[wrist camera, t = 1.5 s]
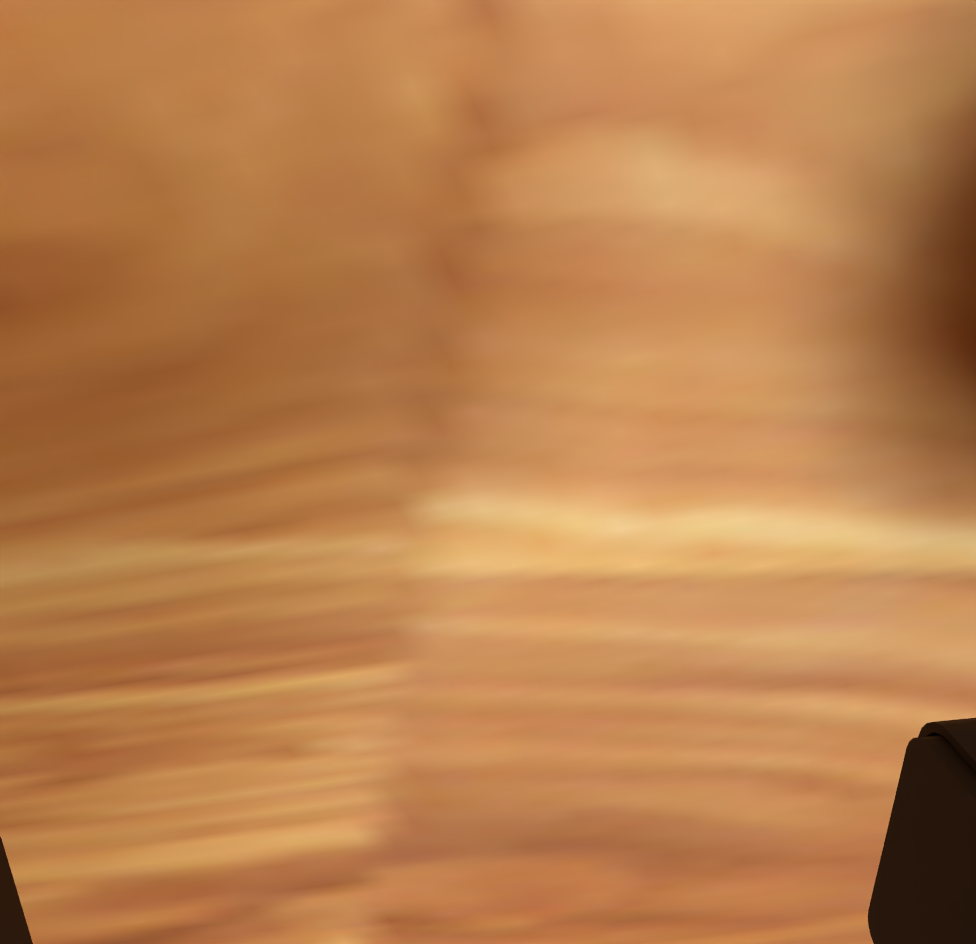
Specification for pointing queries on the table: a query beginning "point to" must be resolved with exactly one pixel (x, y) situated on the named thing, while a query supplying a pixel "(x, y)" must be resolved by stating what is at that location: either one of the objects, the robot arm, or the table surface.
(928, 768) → the robot arm
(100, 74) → the table surface
